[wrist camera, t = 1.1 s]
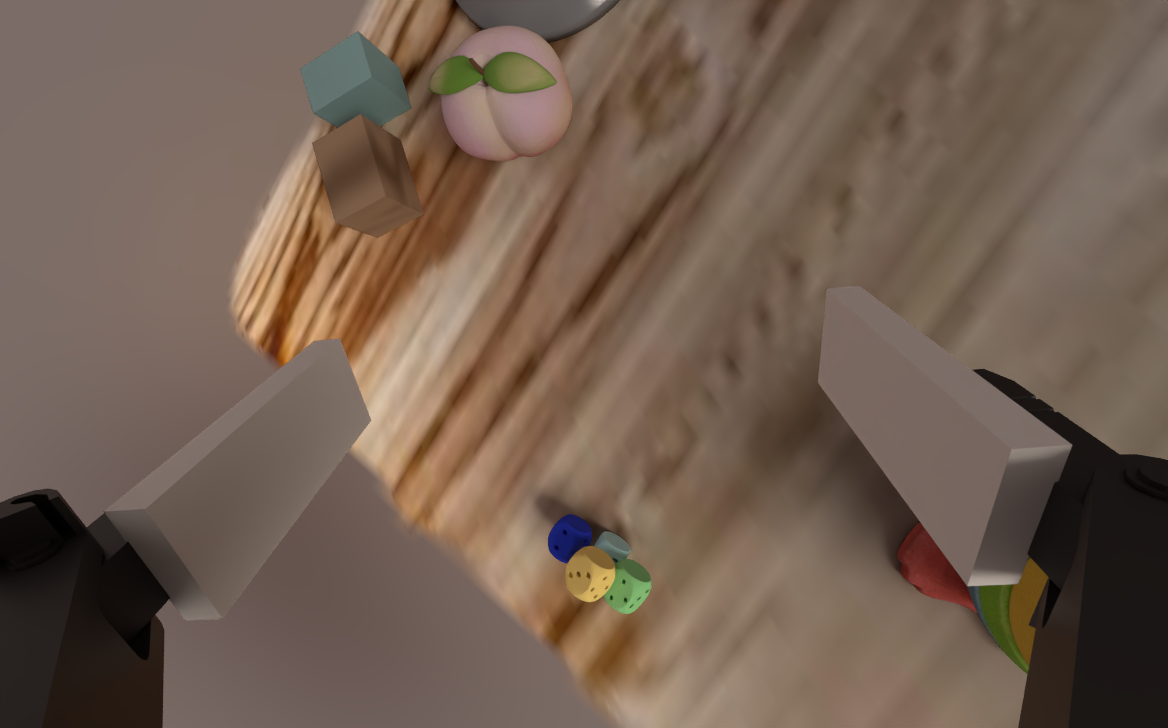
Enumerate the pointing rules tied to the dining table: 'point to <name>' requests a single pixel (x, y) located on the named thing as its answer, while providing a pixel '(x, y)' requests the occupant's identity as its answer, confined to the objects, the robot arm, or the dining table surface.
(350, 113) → the teal block
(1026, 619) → the stacking bear
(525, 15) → the slate plate
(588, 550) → the dice
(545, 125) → the decorative fruit
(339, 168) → the walnut block
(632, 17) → the dining table surface
